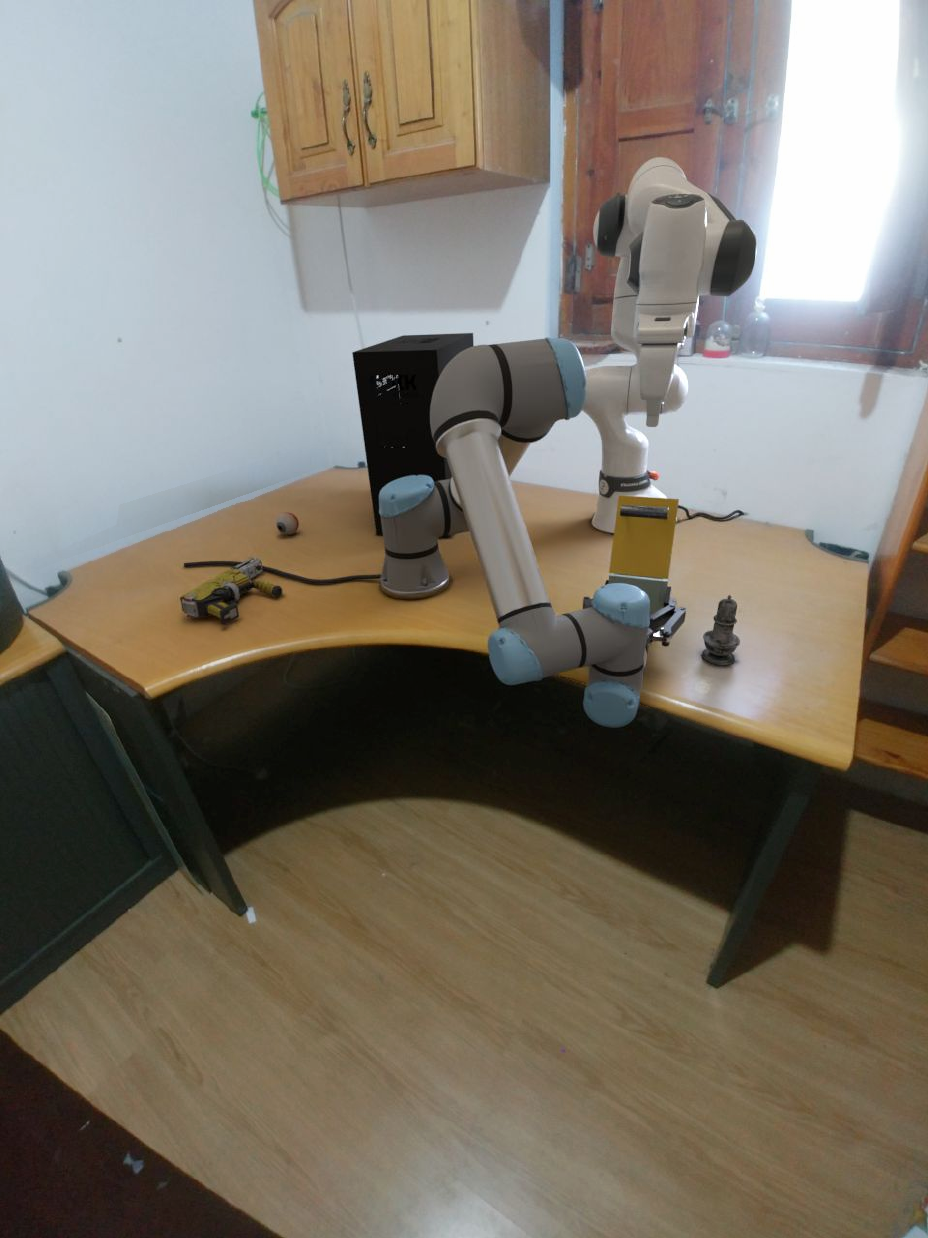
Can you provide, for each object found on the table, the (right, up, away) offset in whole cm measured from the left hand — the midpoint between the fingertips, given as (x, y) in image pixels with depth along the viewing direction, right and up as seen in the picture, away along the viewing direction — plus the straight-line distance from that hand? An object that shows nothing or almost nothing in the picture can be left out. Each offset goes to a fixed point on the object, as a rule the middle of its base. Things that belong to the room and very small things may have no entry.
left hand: (637, 589), depth 113 cm
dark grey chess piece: (+11, -12, -9) cm, 19 cm away
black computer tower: (-42, +26, +62) cm, 79 cm away
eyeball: (-81, +18, +52) cm, 97 cm away
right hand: (-2, +27, -16) cm, 31 cm away
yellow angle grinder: (-81, -1, +20) cm, 83 cm away
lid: (0, +9, -5) cm, 10 cm away
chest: (+2, -4, +7) cm, 8 cm away
